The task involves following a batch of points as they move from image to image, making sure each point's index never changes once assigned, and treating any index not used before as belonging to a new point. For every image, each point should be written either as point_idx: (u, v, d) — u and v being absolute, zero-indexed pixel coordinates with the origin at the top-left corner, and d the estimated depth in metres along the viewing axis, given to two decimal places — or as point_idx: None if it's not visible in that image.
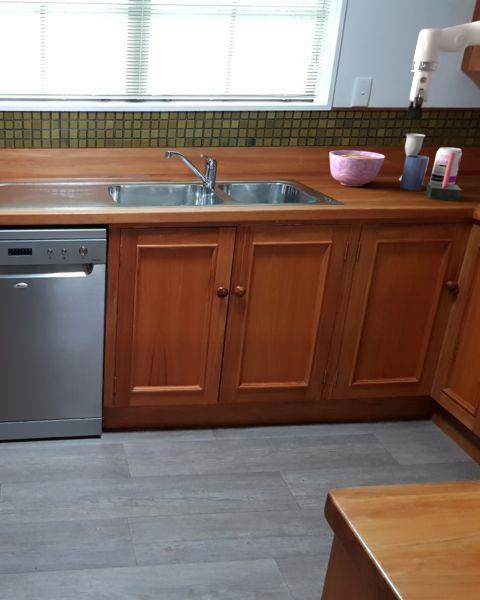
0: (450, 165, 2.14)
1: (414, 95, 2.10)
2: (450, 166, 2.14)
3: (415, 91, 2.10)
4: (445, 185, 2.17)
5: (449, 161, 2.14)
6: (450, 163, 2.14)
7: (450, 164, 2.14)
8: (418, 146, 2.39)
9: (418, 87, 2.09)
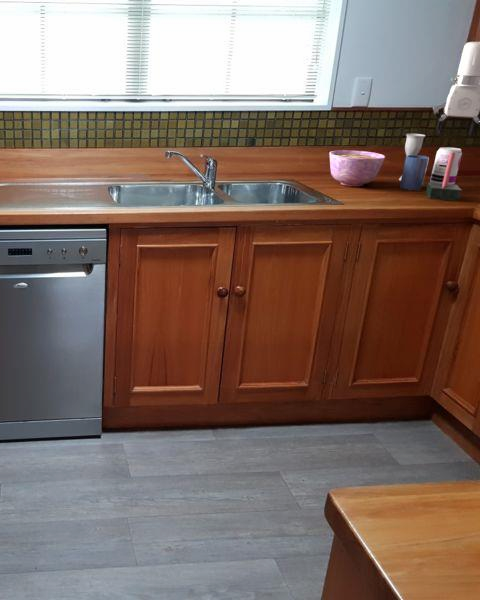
0: (450, 165, 2.14)
1: None
2: (450, 166, 2.14)
3: None
4: (445, 185, 2.17)
5: (449, 161, 2.14)
6: (450, 163, 2.14)
7: (450, 164, 2.14)
8: (418, 146, 2.39)
9: None
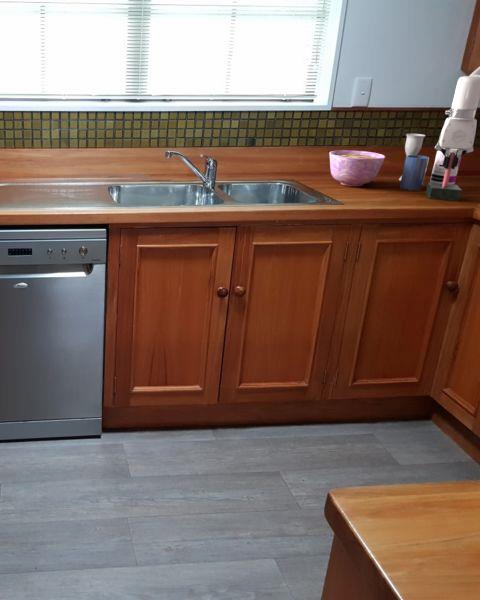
0: (450, 165, 2.14)
1: None
2: (450, 166, 2.14)
3: None
4: (445, 185, 2.17)
5: (449, 161, 2.14)
6: (450, 163, 2.14)
7: (450, 164, 2.14)
8: (418, 146, 2.39)
9: (441, 132, 2.13)
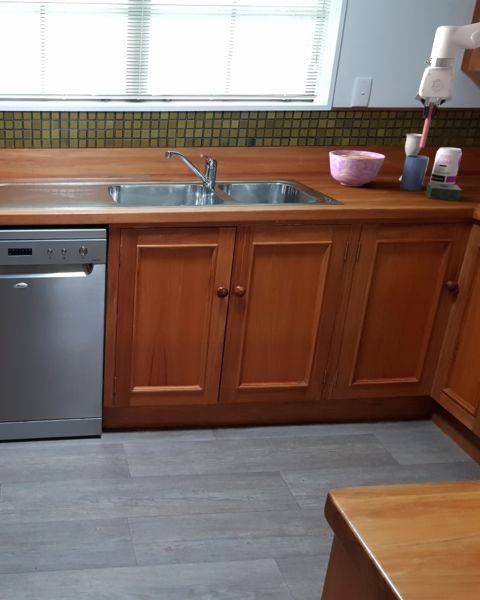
0: (430, 115, 2.20)
1: None
2: (430, 115, 2.20)
3: None
4: (425, 135, 2.23)
5: (428, 111, 2.20)
6: (429, 112, 2.20)
7: (429, 114, 2.20)
8: (418, 146, 2.39)
9: None
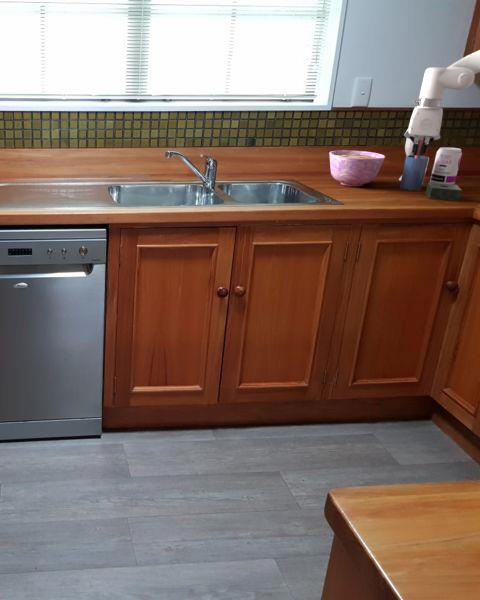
0: (419, 152, 2.27)
1: None
2: (419, 152, 2.27)
3: None
4: None
5: (418, 148, 2.26)
6: (418, 150, 2.26)
7: (419, 151, 2.27)
8: None
9: (410, 120, 2.26)
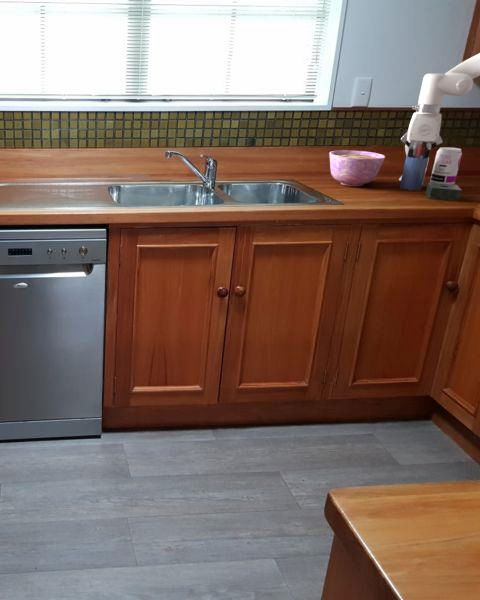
0: (418, 157, 2.27)
1: None
2: (418, 157, 2.27)
3: None
4: None
5: (416, 153, 2.27)
6: (417, 154, 2.27)
7: (417, 156, 2.27)
8: None
9: (409, 126, 2.26)
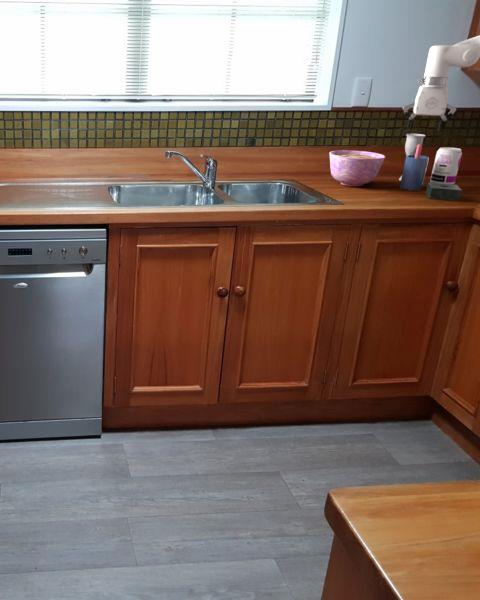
0: (418, 157, 2.27)
1: None
2: (418, 157, 2.27)
3: None
4: None
5: (416, 153, 2.27)
6: (417, 154, 2.27)
7: (417, 156, 2.27)
8: None
9: (415, 100, 2.23)
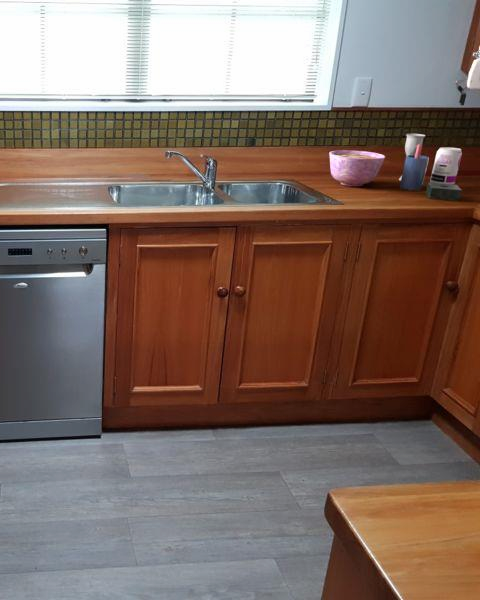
0: (418, 157, 2.27)
1: None
2: (418, 157, 2.27)
3: None
4: None
5: (416, 153, 2.27)
6: (417, 154, 2.27)
7: (417, 156, 2.27)
8: None
9: (468, 74, 2.22)
